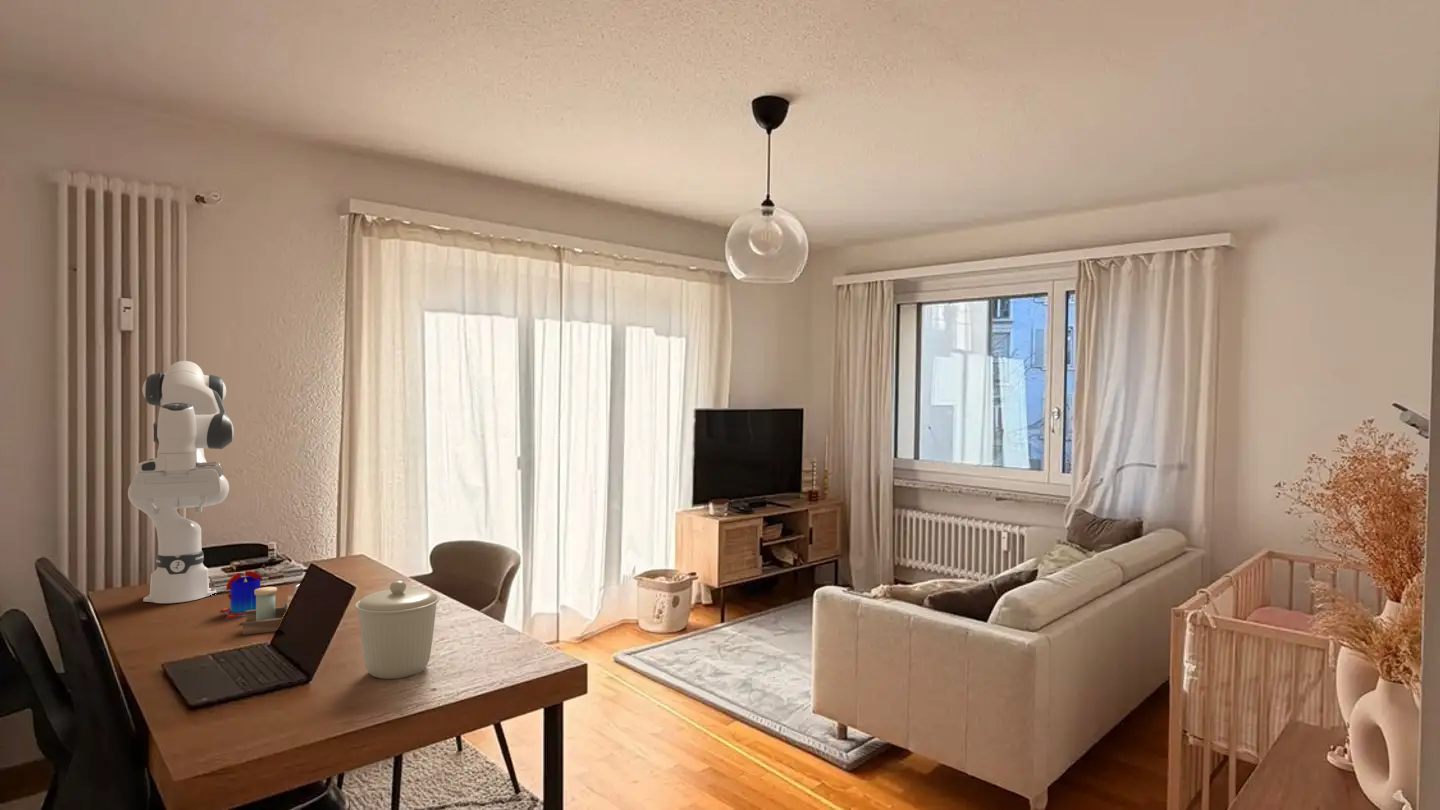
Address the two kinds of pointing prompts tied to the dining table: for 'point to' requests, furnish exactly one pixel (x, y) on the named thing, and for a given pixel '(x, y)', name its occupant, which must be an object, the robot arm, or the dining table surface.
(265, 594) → the grey-green capped cylinder
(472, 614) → the dining table surface
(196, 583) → the robot arm
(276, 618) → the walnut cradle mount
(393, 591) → the canister
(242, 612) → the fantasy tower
